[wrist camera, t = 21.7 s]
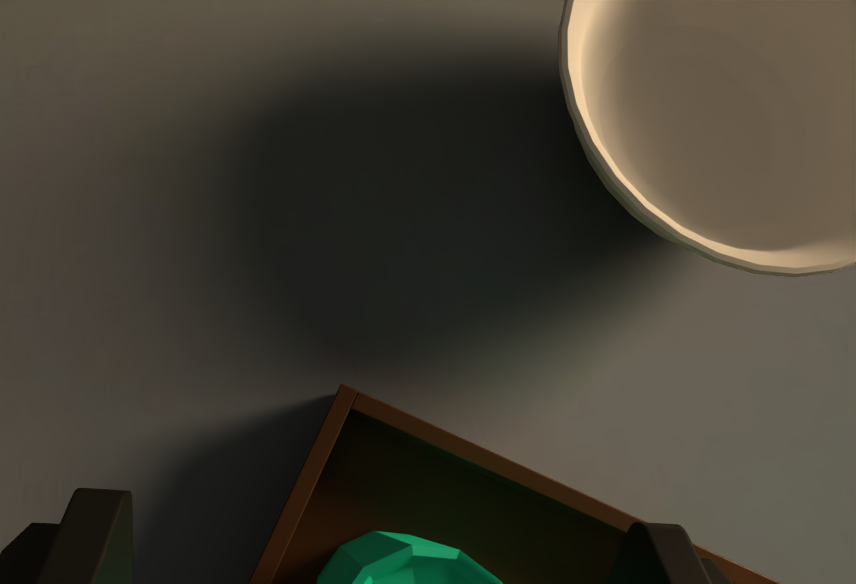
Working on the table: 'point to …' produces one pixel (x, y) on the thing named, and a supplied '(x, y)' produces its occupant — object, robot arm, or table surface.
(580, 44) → the bowl
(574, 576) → the tray
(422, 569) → the candle
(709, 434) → the table surface
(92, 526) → the robot arm
